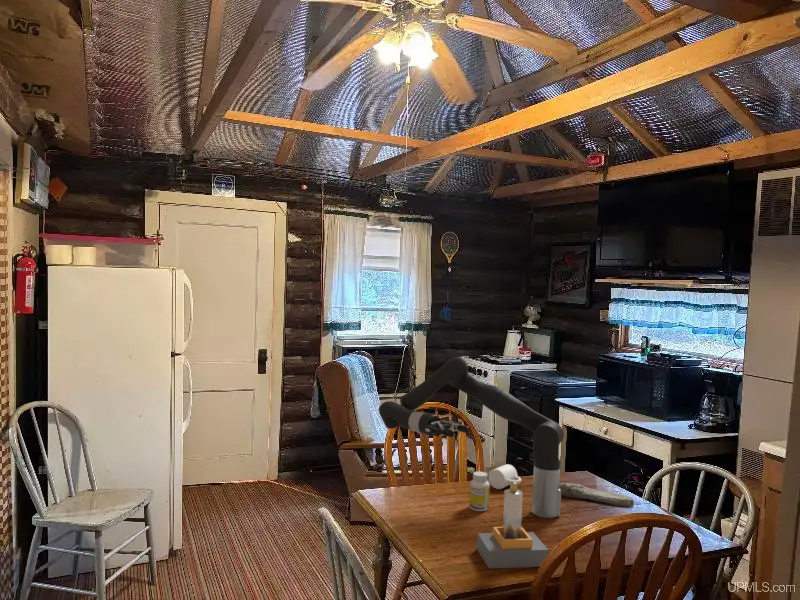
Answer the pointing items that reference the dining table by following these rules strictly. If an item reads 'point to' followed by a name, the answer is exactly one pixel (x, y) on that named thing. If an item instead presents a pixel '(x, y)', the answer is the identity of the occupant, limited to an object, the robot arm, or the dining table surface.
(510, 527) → the gold capped bottle
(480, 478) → the supplement bottle
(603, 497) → the elongated rock
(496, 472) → the mug
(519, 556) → the grey base with frame
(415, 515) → the dining table surface
